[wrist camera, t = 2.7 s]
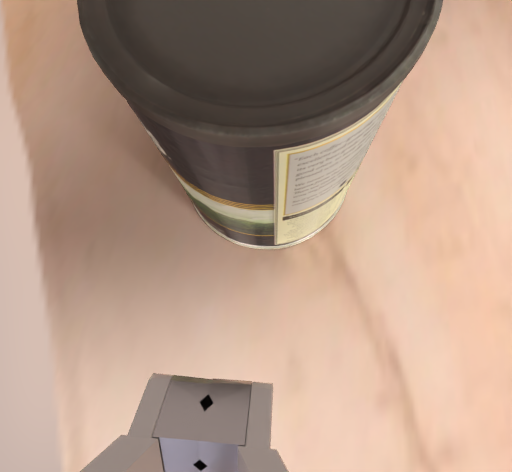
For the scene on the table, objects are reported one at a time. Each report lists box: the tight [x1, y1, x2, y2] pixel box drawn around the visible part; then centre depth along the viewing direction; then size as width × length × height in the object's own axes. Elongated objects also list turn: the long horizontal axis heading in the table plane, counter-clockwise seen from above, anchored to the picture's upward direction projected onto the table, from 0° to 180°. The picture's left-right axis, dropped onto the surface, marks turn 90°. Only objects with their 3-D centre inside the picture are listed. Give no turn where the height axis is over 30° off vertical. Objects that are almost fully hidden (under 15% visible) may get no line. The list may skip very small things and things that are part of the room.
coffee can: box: [77, 0, 443, 250], centre depth 18 cm, size 10×10×14 cm
